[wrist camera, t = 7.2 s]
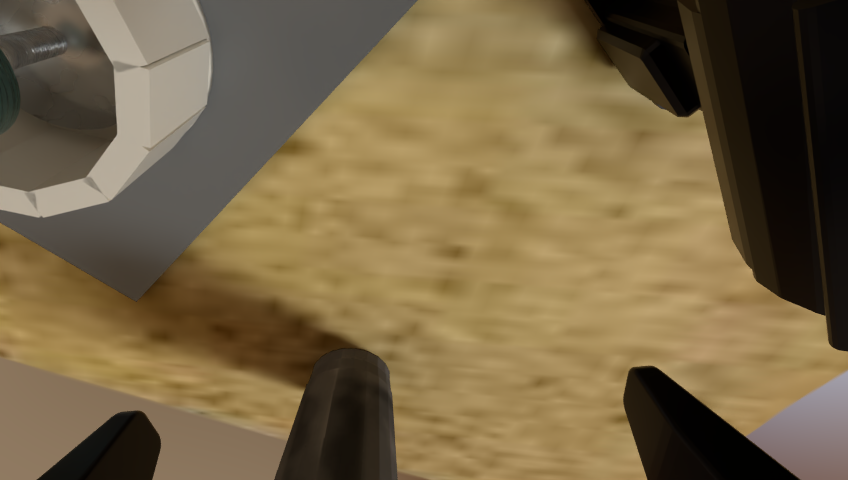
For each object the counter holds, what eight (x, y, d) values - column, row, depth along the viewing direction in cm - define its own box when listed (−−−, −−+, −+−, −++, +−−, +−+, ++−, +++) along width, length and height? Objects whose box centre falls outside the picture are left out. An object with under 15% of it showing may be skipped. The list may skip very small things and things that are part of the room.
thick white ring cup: (-5, -215, 13) (-205, -294, 9) (263, 37, 17) (214, 68, 12) (-122, 60, 17) (-302, 99, 12) (118, 217, 20) (42, 287, 16)
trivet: (-31, -571, 10) (-50, -593, 10) (429, -14, 16) (429, -14, 16) (-233, 73, 17) (-250, 77, 17) (141, 295, 23) (136, 301, 23)
